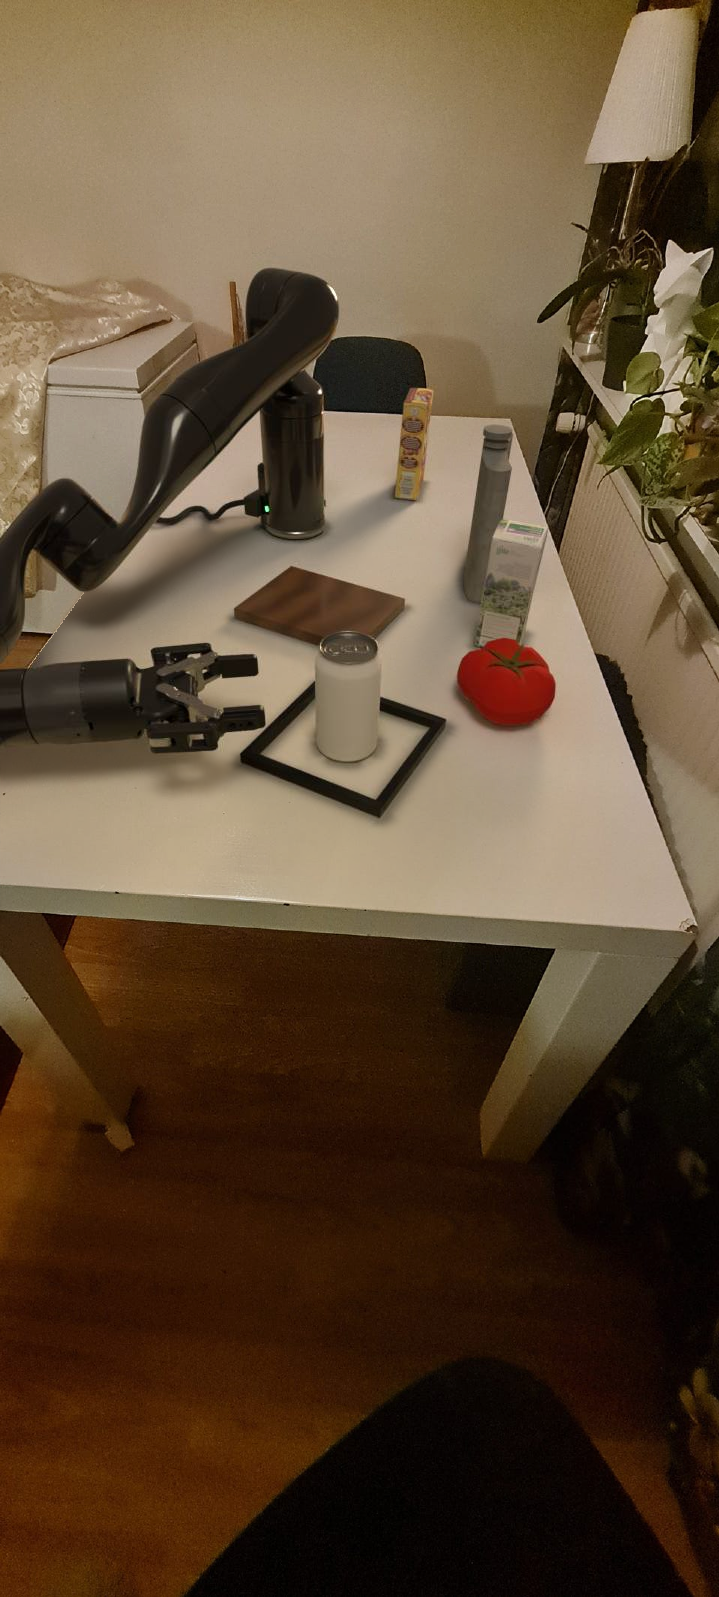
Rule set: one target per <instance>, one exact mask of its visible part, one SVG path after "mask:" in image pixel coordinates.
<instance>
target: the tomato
mask: <svg viewBox="0 0 719 1597" xmlns="http://www.w3.org/2000/svg"><path fill="white" fill-rule="evenodd" d="M456 682H457V685H458V688H459V689H460V691H461V693H462V695H463V697H464V698H466V699H467V700H468V701H470V702H472V704H473V705H474V707H475V709H476V711H477V713H479V714H480V715H481V716H482V717H483V718H485V719H486V720H488V721H490V722H491V723H494V724H497V725H501V726H510V727H512V726H513V727H514V726H522V725H528V724H530V723H532V722H535V721H537V720H539V719H540V718H541V717H542V716H544V715H545V713H547V711H548V710H549V709H550V708H551V707H552V705H553V703H554V700H555V697H556V688H557V687H556V686H557V685H556V684H557V683H556V680H555V678H554V675H553V674H552V673H551V671H550V667H549V664H548V663H547V662H546V660H545V659H544V657H543V656H542V655H541V654H540V653H539V652H538V651H537V650H536V649H535V648H533V647H531V646H524V644H521V646H520V645H519V644H518V642H517V641H516V640H515V639H509V638H500V639H496V640H492V641H488V642H487V643H486V644H485V645H484V646H483V647H481V649H474V650H470V651H468V652H467V653H466V654H465V655H463V657H462V658H461V659H460V662H459V665H458V668H457V673H456Z"/></svg>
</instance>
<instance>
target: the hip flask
mask: <svg viewBox="0 0 719 1597" xmlns="http://www.w3.org/2000/svg"><path fill="white" fill-rule="evenodd" d="M482 436H483V443H482V447H481V448H482V449H481V456H480V464H479V470H478V476H477V484H476V491H475V497H474V505H473V510H472V511H473V512H472V518H471V525H470V531H469V539H468V546H467V550H466V558H465V566H464V572H463V591H464V594H465V598H466V599H467V600H468V601H469V602H472V603H475V604H476V603H477V604H481V602H482V596H483V590H484V584H485V579H486V573H487V567H488V561H489V555H490V549H491V543H492V539H493V535H494V533H495V531H496V529H497V526H498V525H499V523H500V521H501V519H504V516H505V509H506V504H507V499H508V493H509V487H510V482H511V475H512V470H513V467H512V465H511V463H510V456H511V450H512V444H513V439H514V434H513V429H512V428H511V427H509V426H507V425H503V424H488V425H485V426H484V427H483V432H482Z"/></svg>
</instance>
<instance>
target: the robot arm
mask: <svg viewBox="0 0 719 1597" xmlns="http://www.w3.org/2000/svg"><path fill="white" fill-rule="evenodd" d="M245 298H246V299H245V310H244V312H245V332H246V340H245V341H243V342H242V343H240V344H238V345H235V346H232V347H230V348H229V349H226V350H224V351H221V352H218V353H216V354H214V355H211V356H210V357H207V358H205V359H203V360H201V361H199V362H197V363H195V364H193V365H191V366H190V367H188V368H186V369H185V370H184V371H183V372H181V373H180V374H179V375H178V376H176V377H175V378H174V379H173V380H172V381H171V382H170V383H169V384H168V385H167V386H166V387H165V388H164V390H162V391H161V392H160V394H158V396H156V398H155V399H153V401H152V402H151V403H150V404H149V406H148V408H147V410H146V412H145V414H144V418H143V420H142V421H143V422H142V426H141V432H140V433H141V434H140V438H139V439H140V440H139V448H138V460H137V467H136V475H135V479H134V484H133V488H132V492H131V494H130V497H129V500H128V503H127V505H126V508H125V509H124V512H123V513H122V516H121V517H120V519H119V521H117V520H116V519H115V518H114V517H113V516H112V515H111V514H110V513H109V512H108V511H107V510H106V508H104V507H103V506H102V505H101V504H100V503H99V502H98V501H97V500H96V499H95V498H94V497H93V496H92V495H91V494H90V493H89V492H88V491H87V490H86V489H85V488H84V487H83V486H82V485H81V484H79V483H78V482H77V481H75V480H74V479H71V478H69V477H62V478H58V479H56V480H54V481H52V482H51V483H49V484H48V485H47V486H45V487H43V489H41V490H40V491H39V493H37V494H36V495H35V496H34V497H33V498H32V499H31V500H30V501H29V502H28V504H27V505H26V506H25V507H24V508H23V509H22V510H21V512H19V514H18V515H17V516H16V517H15V519H14V520H13V521H12V522H11V523H10V525H9V526H8V527H7V529H6V530H5V531H4V533H3V534H2V535H1V536H0V665H1V664H2V663H3V662H4V660H5V659H6V658H7V657H8V656H9V655H10V654H11V653H12V651H13V649H14V648H15V647H16V645H17V644H18V642H19V640H20V637H21V636H22V632H23V628H24V625H25V619H26V618H25V617H26V574H27V567H28V562H29V559H30V555H31V553H32V551H33V552H35V554H37V555H38V557H40V558H41V559H42V560H43V561H44V562H45V563H46V564H48V566H50V567H51V568H52V569H53V570H54V571H55V572H56V573H57V574H59V575H60V576H61V577H62V579H64V580H65V581H66V582H67V583H69V585H71V586H72V587H73V588H74V589H76V590H77V591H79V592H80V593H81V592H82V593H87V592H92V591H94V590H95V589H97V588H99V587H100V586H101V585H103V584H104V583H105V582H106V581H107V580H108V579H109V578H110V577H111V576H112V575H113V574H114V573H115V572H116V570H117V569H118V568H119V567H120V566H121V565H122V564H123V562H124V561H125V560H126V559H127V557H128V556H129V555H130V554H131V553H132V552H133V550H134V549H135V548H136V546H138V544H140V542H141V540H142V539H143V538H144V537H145V536H146V534H147V533H148V532H149V531H150V529H152V527H153V526H154V524H155V523H157V524H161V525H162V524H163V525H164V524H165V525H170V524H176V523H178V522H180V521H181V520H182V519H184V518H185V517H187V516H188V515H189V514H192V513H197V512H199V513H200V512H201V513H202V514H203V515H204V517H205V518H207V519H208V520H210V521H215V520H218V519H220V518H221V517H222V516H223V515H224V513H226V512H227V511H228V510H230V509H232V508H236V507H241V506H242V507H244V508H243V509H244V515H245V516H249V517H253V518H257V519H258V518H260V527H261V528H262V529H266V531H267V532H268V533H269V534H271V535H272V536H274V537H277V538H282V539H287V540H304V539H305V540H306V539H310V538H313V537H317V536H319V535H320V534H322V533H323V532H324V531H325V528H326V520H325V519H326V518H325V517H326V516H325V508H326V507H327V500H326V499H325V399H324V398H325V395H324V394H325V393H324V390H323V387H322V386H321V384H320V383H318V381H316V380H315V378H313V377H312V376H311V375H310V373H308V371H307V370H306V369H307V368H308V367H309V366H310V365H312V364H313V363H314V362H315V361H316V360H317V359H318V358H320V357H321V356H322V354H324V352H325V351H326V350H327V348H328V347H329V345H330V344H331V342H332V340H333V338H334V336H335V333H336V331H337V327H338V323H339V317H340V305H339V299H338V296H337V293H336V292H335V290H334V288H333V286H332V285H330V283H329V282H328V281H326V280H325V279H323V278H321V277H319V276H317V275H315V274H310V273H309V272H308V273H307V272H302V271H296V270H291V269H285V268H281V267H265V268H263V269H260V270H258V271H257V273H255V275H254V276H253V277H252V279H251V281H250V282H249V286H248V289H247V294H246V297H245ZM258 413H259V424H260V427H259V428H260V440H261V456H262V461H261V462H259V464H257V467H256V468H257V469H256V470H257V483H258V488H257V489H256V490H254V491H252V492H250V493H248V494H247V495H246V496H243V498H242V499H236V500H232V501H229V502H227V503H224V504H223V505H221V507H219V508H218V510H217V511H216V512H214V513H211V512H210V511H209V509H208V508H206V507H205V506H203V505H191V506H188V507H187V508H185V509H183V510H182V511H180V512H179V513H178V514H177V515H174V516H171V517H170V516H169V517H161V516H162V515H163V513H165V511H166V510H167V509H168V507H169V506H170V505H171V504H172V503H173V502H174V501H175V500H176V499H177V498H178V497H179V495H181V494H182V493H183V492H184V491H185V490H186V489H187V488H188V487H189V486H190V485H191V484H192V483H193V482H194V481H195V480H196V479H197V478H198V477H199V476H200V475H201V474H202V473H203V472H204V471H205V470H206V468H208V467H209V466H210V465H211V464H212V463H213V462H214V461H215V460H216V459H217V457H218V456H220V454H222V452H223V451H224V450H225V449H226V448H227V447H228V446H229V445H230V444H231V442H232V441H233V440H234V439H235V437H236V436H237V435H238V434H239V433H240V432H241V430H243V428H244V427H245V426H246V425H247V424H248V423H249V422H250V421H251V420H252V419H253V418H254V417H255V416H256V415H257V414H258ZM150 655H151V656H150V657H151V661H152V666H150V667H146V668H140V667H139V666H137V665H136V663H135V661H134V660H132V659H131V658H129V657H128V658H114V659H113V658H111V659H99V660H98V659H97V660H84V661H83V660H81V661H66V662H55V663H49V664H48V663H47V664H44V665H39V666H31V667H18V668H4V669H2V668H1V669H0V748H7V747H19V746H33V745H79V744H91V743H103V742H117V741H128V740H139V739H140V738H142V736H143V735H144V732H145V731H146V737H147V742H148V745H149V749H150V752H151V753H152V754H177V753H197V752H213V751H216V750H218V748H219V741H220V739H221V738H222V737H224V735H225V734H226V733H227V734H228V733H236V732H238V733H239V732H247V731H256V730H260V729H263V728H266V724H267V723H266V722H267V721H266V711H265V706H263V705H262V704H253V705H252V704H251V705H250V704H249V705H239V706H225V707H222V710H221V709H219V708H217V707H214V706H212V705H208V704H205V703H204V702H203V699H201V698H200V697H199V693H201V692H202V691H203V690H204V689H205V687H206V686H207V685H208V684H209V683H211V682H214V681H216V680H217V679H219V678H221V679H234V678H249V677H256V676H258V675H259V672H260V670H259V660H258V656H257V655H256V654H254V653H240V654H239V653H237V654H225V655H220V654H219V653H218V652H215V651H214V650H213V648H212V644H211V643H210V642H197V643H188V644H187V643H186V644H177V645H175V644H174V645H166V646H156V647H153V648H151V649H150ZM190 655H200V656H199V657H197V658H195V657H193V656H190ZM188 656H189V657H188ZM205 670H206V671H205ZM203 671H205V672H203ZM193 735H194V736H196V735H202V738H195V739H193V738H191V737H190V736H193Z"/></svg>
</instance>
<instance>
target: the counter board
mask: <svg viewBox="0 0 719 1597" xmlns="http://www.w3.org/2000/svg"><path fill="white" fill-rule="evenodd" d="M405 604H406V598H404V597H401V596H397V595H395V594H391V593H387V592H383V591H381V590H376V589H373V588H369V587H367V586H363V585H359V584H355V583H352V582H349V581H346V580H342V579H338V578H335V577H331V576H327V575H326V574H325V575H324V574H321V573H317V572H315V571H311V570H307V569H303V568H300V567H296V566H293V565H290V566H289V567H287V568H286V569H284V570H283V571H282V572H281V573H279V574H278V575H276V576H275V577H274V578H273V579H271V580H270V581H268V583H266V584H265V585H263V586H262V587H260V588H259V589H258V590H257V591H255V592H254V593H253V594H251V595H250V596H248V597H247V598H245V599H244V600H243V601H241V602H240V603H239V604H237V605H236V606H234V608H233V614H234V619H236V620H238V621H242V622H244V623H247V624H250V625H254V626H257V627H260V628H263V629H266V630H269V631H271V632H275V633H278V634H282V635H284V636H288V637H291V638H294V639H297V640H299V641H303V642H306V643H309V644H312V645H315V646H318V647H319V645H320V642H321V641H322V639H323V638H325V637H326V636H328V635H330V634H332V633H335V632H340V631H355V632H360V633H364V634H366V635H369V636H370V637H372V638H373V639H374V640H375V639H376V638H377V637H378V636H379V635H380V634H381V633H382V632H383V631H384V630H385V629H386V628H387V627H388V626H389V624H391V622H392V621H393V620H395V619H396V618H397V617H398V615H399V614H401V612H403V610H405V607H406V606H405Z"/></svg>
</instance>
